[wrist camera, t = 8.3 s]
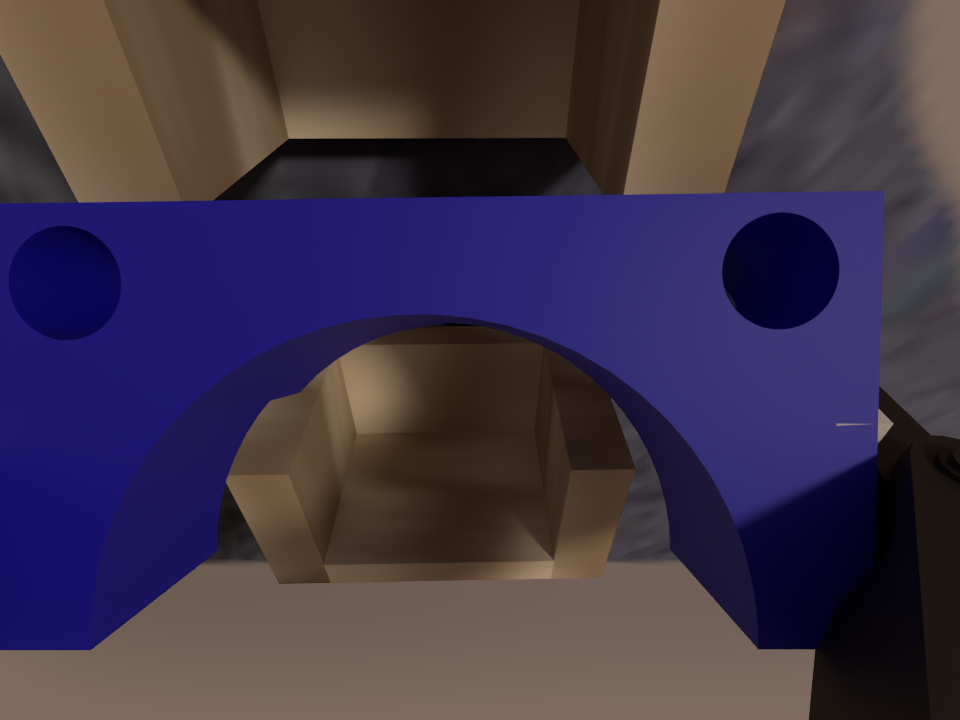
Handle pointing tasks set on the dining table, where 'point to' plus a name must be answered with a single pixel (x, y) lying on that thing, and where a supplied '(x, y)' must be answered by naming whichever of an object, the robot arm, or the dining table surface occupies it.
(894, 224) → the dining table surface
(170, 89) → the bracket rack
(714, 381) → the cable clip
